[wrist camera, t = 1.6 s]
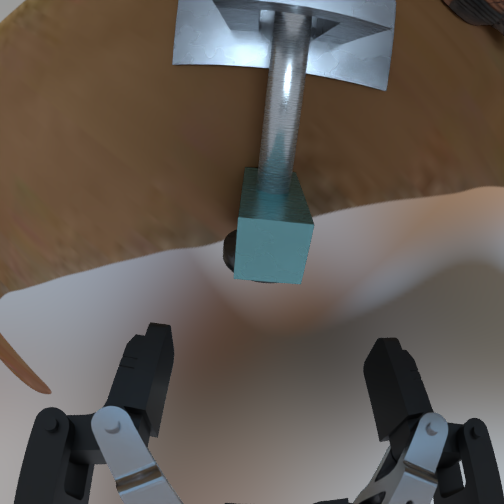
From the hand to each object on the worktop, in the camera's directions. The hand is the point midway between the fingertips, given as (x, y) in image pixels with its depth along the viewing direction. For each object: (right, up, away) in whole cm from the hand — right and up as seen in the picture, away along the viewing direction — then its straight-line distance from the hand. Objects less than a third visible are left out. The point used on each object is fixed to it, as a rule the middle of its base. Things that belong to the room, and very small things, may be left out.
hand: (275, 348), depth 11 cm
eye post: (+2, +20, +6) cm, 21 cm away
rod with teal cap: (+1, +15, +9) cm, 17 cm away
